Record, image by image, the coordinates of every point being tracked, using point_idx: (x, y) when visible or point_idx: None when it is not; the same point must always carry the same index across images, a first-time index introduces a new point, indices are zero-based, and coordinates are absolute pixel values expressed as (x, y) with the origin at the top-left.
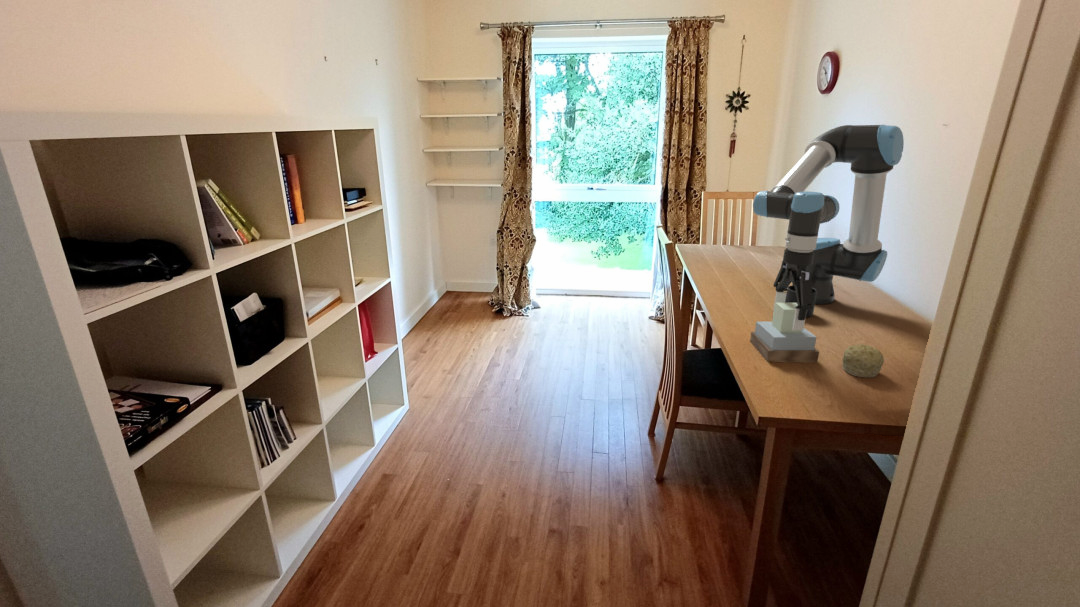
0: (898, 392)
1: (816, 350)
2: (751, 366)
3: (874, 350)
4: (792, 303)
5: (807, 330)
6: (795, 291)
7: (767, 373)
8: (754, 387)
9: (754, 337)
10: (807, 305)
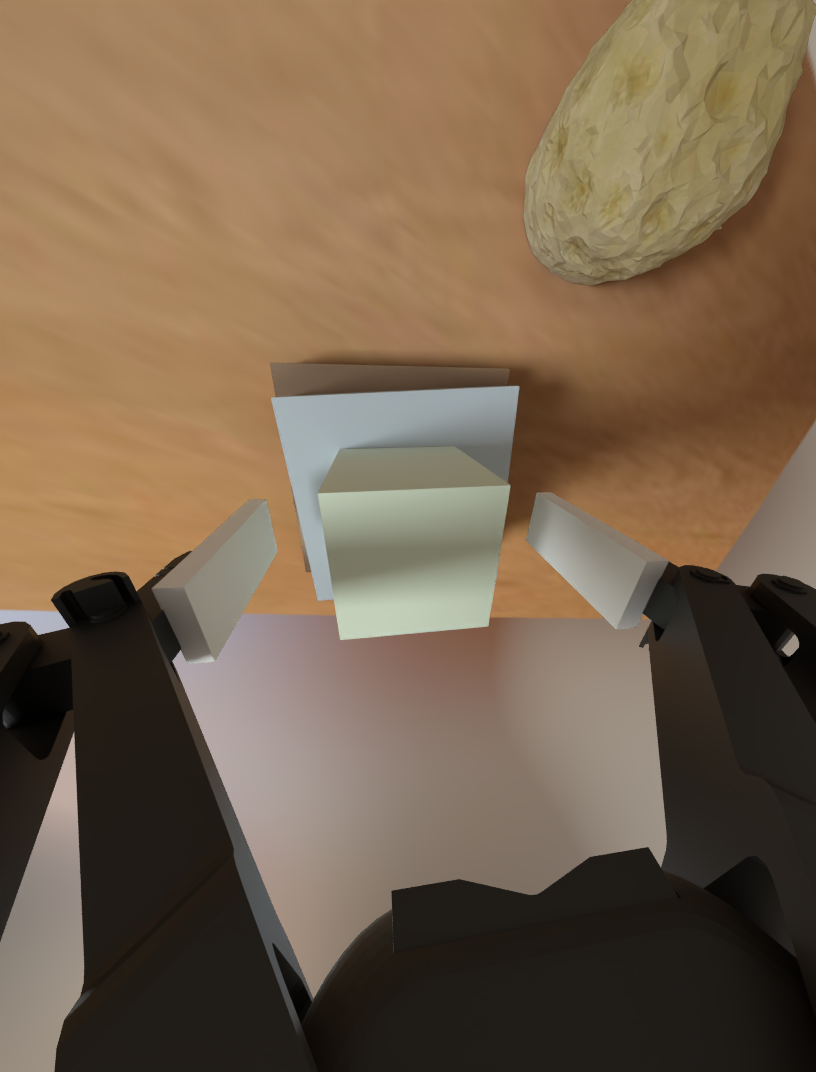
0: (797, 131)
1: (495, 376)
2: (494, 589)
3: (801, 38)
4: (349, 532)
5: (423, 392)
6: (663, 765)
7: (538, 564)
8: (593, 607)
9: None
10: (793, 634)
